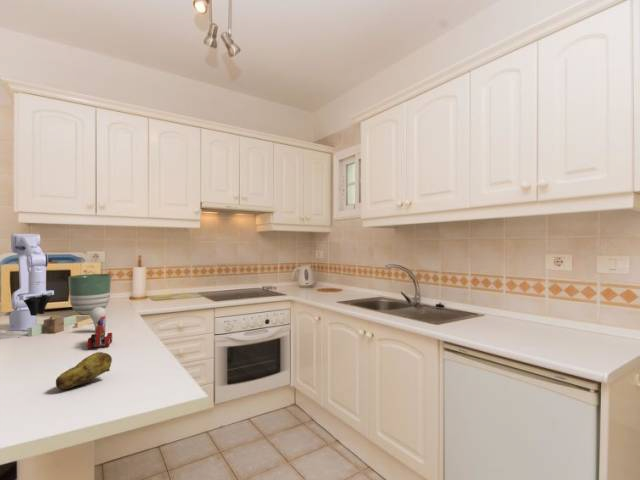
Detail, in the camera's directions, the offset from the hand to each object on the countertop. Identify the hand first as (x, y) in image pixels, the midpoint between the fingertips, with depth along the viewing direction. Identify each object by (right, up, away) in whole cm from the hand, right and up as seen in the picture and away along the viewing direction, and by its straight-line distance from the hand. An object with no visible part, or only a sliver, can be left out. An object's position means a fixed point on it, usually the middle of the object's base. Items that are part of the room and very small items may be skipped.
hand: (37, 314), depth 144 cm
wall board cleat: (+1, -10, +13) cm, 16 cm away
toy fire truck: (+35, -10, -12) cm, 38 cm away
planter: (-8, -10, +45) cm, 46 cm away
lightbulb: (+21, -10, +8) cm, 24 cm away
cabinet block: (+1, -10, +8) cm, 12 cm away
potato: (+53, -9, -48) cm, 72 cm away
